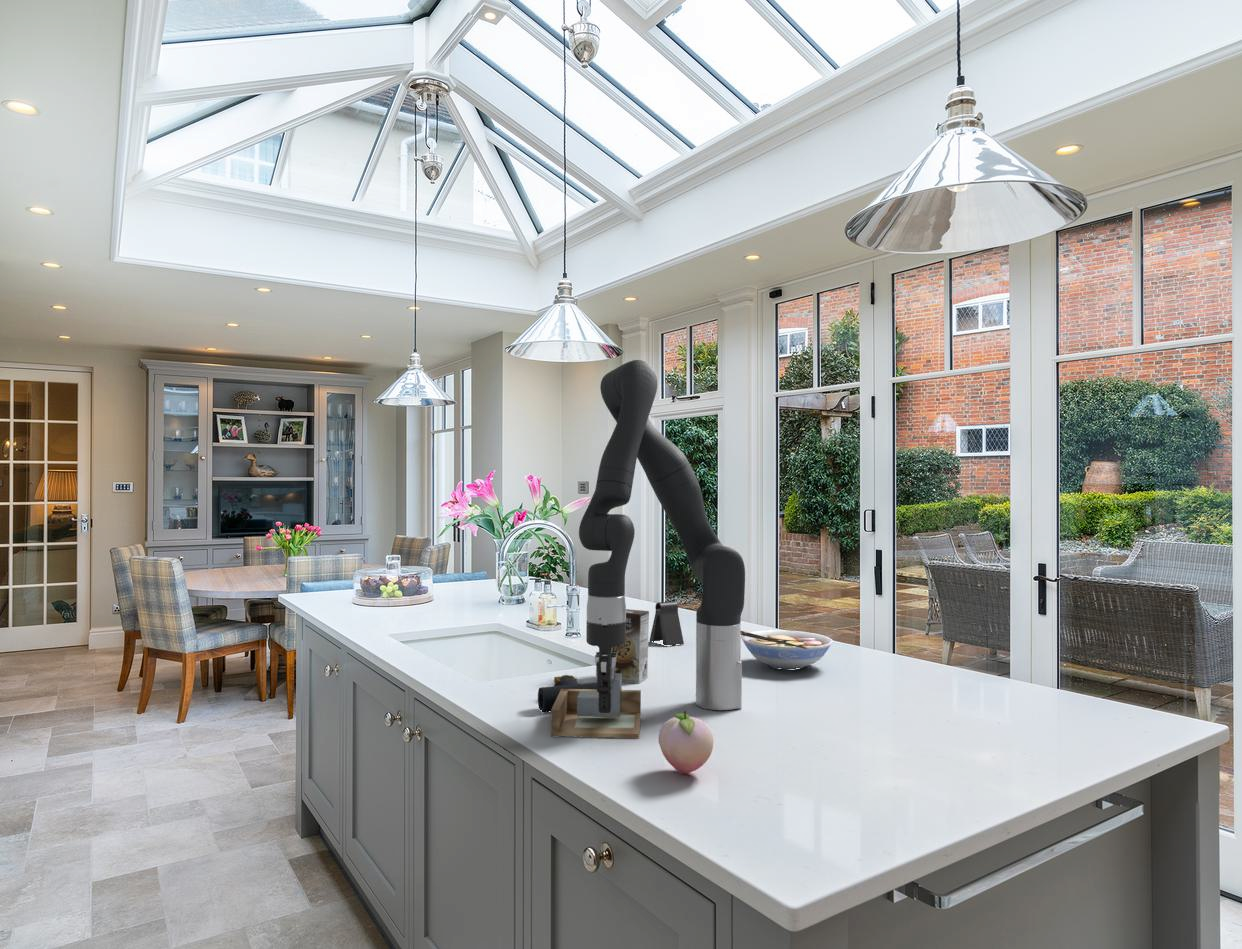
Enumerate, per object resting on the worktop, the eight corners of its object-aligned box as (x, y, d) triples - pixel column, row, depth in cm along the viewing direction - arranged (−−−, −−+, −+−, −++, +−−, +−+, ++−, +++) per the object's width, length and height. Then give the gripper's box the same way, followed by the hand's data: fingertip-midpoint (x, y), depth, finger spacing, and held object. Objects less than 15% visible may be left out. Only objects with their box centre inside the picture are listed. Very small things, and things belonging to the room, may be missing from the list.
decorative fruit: (722, 781, 122) (722, 716, 122) (672, 787, 119) (673, 721, 119) (699, 761, 131) (699, 700, 131) (652, 766, 128) (653, 704, 128)
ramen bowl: (855, 671, 196) (855, 638, 196) (791, 683, 183) (791, 648, 183) (782, 653, 216) (782, 623, 216) (719, 663, 203) (719, 631, 204)
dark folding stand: (684, 645, 227) (684, 603, 227) (666, 647, 223) (667, 604, 224) (666, 639, 234) (666, 599, 234) (649, 641, 231) (649, 600, 231)
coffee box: (603, 679, 185) (603, 611, 185) (613, 673, 191) (614, 607, 191) (639, 683, 182) (640, 613, 182) (649, 677, 188) (649, 609, 188)
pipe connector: (529, 676, 167) (595, 670, 173) (529, 701, 167) (595, 694, 173) (544, 690, 157) (614, 683, 162) (544, 717, 157) (614, 709, 162)
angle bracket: (580, 708, 152) (580, 672, 153) (621, 709, 152) (621, 673, 152) (577, 716, 148) (577, 678, 148) (619, 717, 147) (619, 679, 147)
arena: (640, 714, 157) (640, 690, 157) (638, 738, 142) (639, 711, 142) (561, 712, 158) (561, 688, 158) (550, 736, 143) (551, 710, 143)
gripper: (589, 612, 157) (589, 697, 157) (583, 625, 143) (582, 719, 143) (627, 612, 157) (626, 698, 157) (624, 625, 143) (623, 719, 142)
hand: (605, 707), depth 150 cm, fingers closed on angle bracket, 5 cm apart
